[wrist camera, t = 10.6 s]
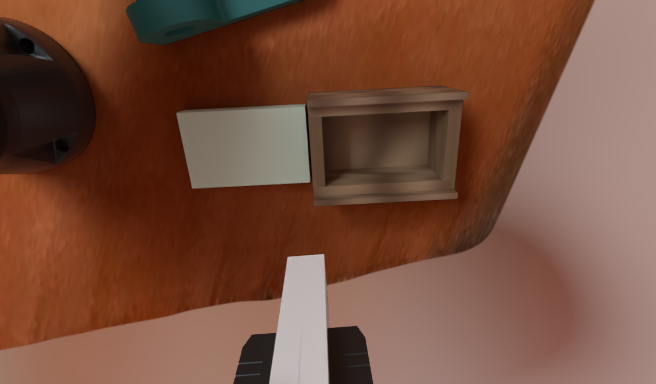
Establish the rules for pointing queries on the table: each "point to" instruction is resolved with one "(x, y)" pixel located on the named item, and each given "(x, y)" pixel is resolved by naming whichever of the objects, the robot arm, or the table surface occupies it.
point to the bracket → (191, 16)
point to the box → (384, 144)
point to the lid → (245, 145)
